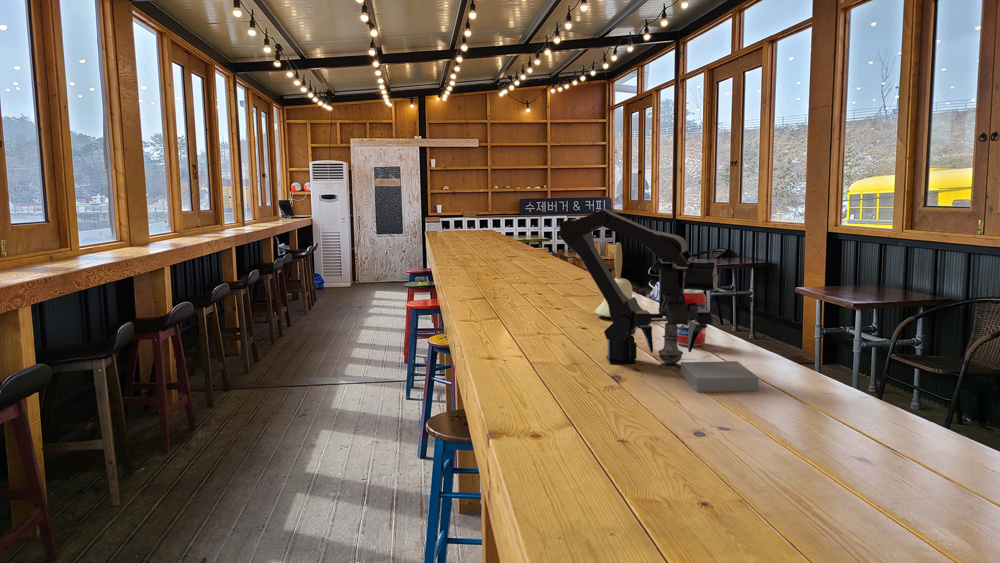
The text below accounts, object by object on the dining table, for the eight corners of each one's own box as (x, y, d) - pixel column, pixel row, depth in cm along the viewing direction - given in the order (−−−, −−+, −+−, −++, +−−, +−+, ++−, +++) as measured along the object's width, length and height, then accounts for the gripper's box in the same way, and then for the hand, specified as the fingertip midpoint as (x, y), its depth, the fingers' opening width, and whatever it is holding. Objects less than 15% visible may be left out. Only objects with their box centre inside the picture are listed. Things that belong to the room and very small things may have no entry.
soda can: (702, 341, 188) (703, 288, 186) (707, 347, 180) (709, 292, 178) (673, 341, 189) (674, 288, 187) (678, 347, 181) (679, 292, 179)
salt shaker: (683, 370, 159) (684, 320, 158) (658, 369, 160) (658, 320, 159) (682, 363, 165) (683, 315, 163) (657, 362, 166) (658, 315, 164)
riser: (696, 391, 142) (697, 378, 142) (680, 374, 155) (680, 362, 155) (758, 390, 142) (758, 377, 142) (736, 373, 155) (737, 361, 155)
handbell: (648, 315, 226) (648, 241, 223) (631, 323, 214) (632, 245, 210) (605, 311, 235) (605, 240, 231) (587, 319, 222) (587, 243, 218)
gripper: (639, 294, 152) (638, 361, 154) (721, 293, 152) (719, 360, 154) (630, 287, 163) (629, 349, 165) (706, 285, 163) (705, 348, 165)
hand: (670, 352), depth 162 cm, fingers open, 9 cm apart
